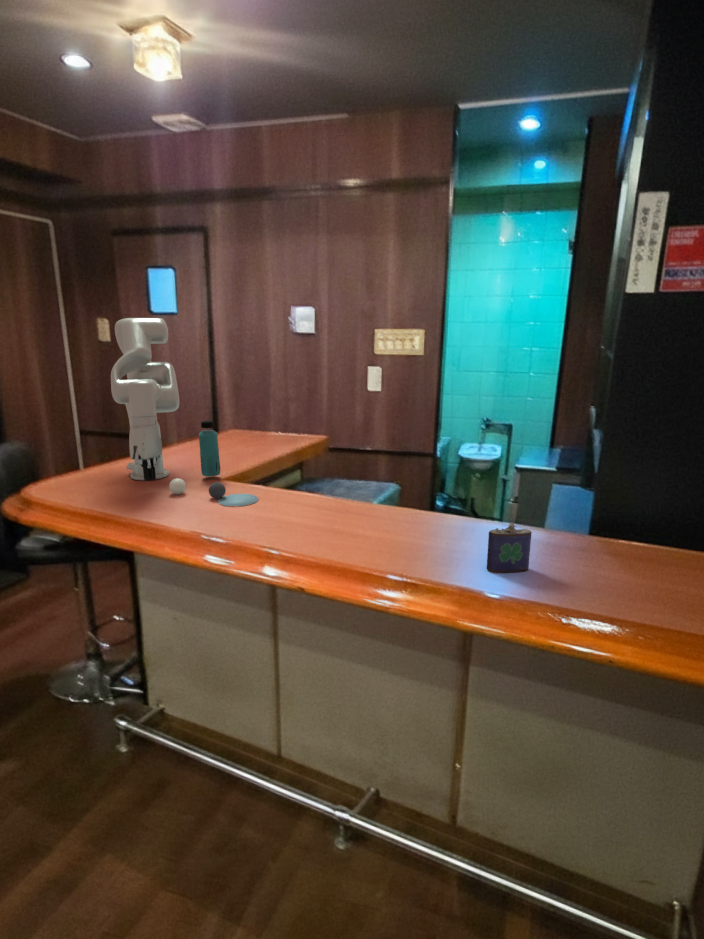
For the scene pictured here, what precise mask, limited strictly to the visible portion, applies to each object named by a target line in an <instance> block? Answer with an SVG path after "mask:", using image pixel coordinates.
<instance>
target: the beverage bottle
mask: <svg viewBox="0 0 704 939" xmlns="http://www.w3.org/2000/svg"><path fill="white" fill-rule="evenodd" d="M214 427H215V425H214V421H213V420H202V421H201V422H200V428H202V429H207V430H202V431H200V432H199V433H198V443H199V457H200V458H199V459H200V461H199V462H200V470H201V475H202V476H203V477H216V476H220V474H221V461H220V451H219V450H220V447H219V445H220V444H219V438H218V433H217V432H216V431H215V430H213V429H211V428H214Z"/></svg>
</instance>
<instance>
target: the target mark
mask: <svg viewBox="0 0 704 939" xmlns="http://www.w3.org/2000/svg"><path fill="white" fill-rule="evenodd" d="M258 501H259V497H258V496H257V495H254V494H251V493H250V494H249V493H233V494H228V495H224V496H223V497H221V498H219V499H217V504H218V503H219V504H218V505H220V504H221V505H220V506H222V505H224V506H223V507H227V506H241V507H246V506H245V505H247V506H251V505H254V504H255V502H256V503H257V502H258ZM253 503H254V504H253ZM250 504H251V505H250Z"/></svg>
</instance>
